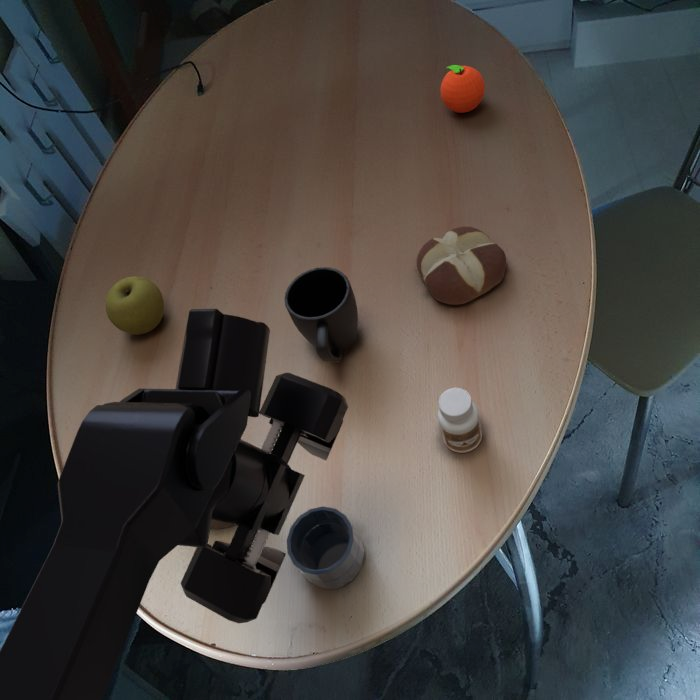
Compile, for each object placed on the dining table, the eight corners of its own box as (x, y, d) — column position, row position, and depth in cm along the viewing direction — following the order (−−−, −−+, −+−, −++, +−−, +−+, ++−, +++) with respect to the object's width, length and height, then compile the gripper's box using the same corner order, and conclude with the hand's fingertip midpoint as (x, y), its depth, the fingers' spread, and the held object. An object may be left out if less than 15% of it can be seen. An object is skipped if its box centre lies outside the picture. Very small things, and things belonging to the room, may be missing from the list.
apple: (183, 313, 97) (161, 281, 92) (143, 352, 95) (117, 322, 89) (153, 293, 101) (129, 261, 96) (113, 330, 99) (87, 300, 93)
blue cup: (355, 596, 68) (342, 580, 64) (294, 582, 71) (278, 566, 66) (371, 532, 72) (360, 512, 68) (313, 521, 74) (298, 501, 70)
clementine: (430, 107, 111) (424, 69, 106) (464, 87, 112) (459, 47, 107) (461, 127, 107) (456, 88, 101) (495, 106, 108) (492, 66, 102)
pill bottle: (449, 458, 75) (440, 425, 69) (438, 425, 77) (429, 390, 71) (487, 447, 74) (482, 412, 68) (475, 414, 77) (469, 378, 71)
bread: (437, 317, 86) (432, 293, 82) (410, 258, 93) (404, 233, 89) (520, 287, 86) (518, 261, 82) (486, 230, 93) (483, 203, 89)
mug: (306, 394, 84) (282, 351, 77) (306, 319, 91) (284, 273, 84) (370, 384, 83) (352, 339, 75) (365, 308, 90) (348, 260, 82)
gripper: (193, 324, 51) (270, 380, 65) (75, 559, 47) (184, 565, 62) (319, 370, 47) (372, 420, 61) (202, 632, 43) (287, 621, 58)
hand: (301, 504), depth 61 cm, fingers open, 9 cm apart
